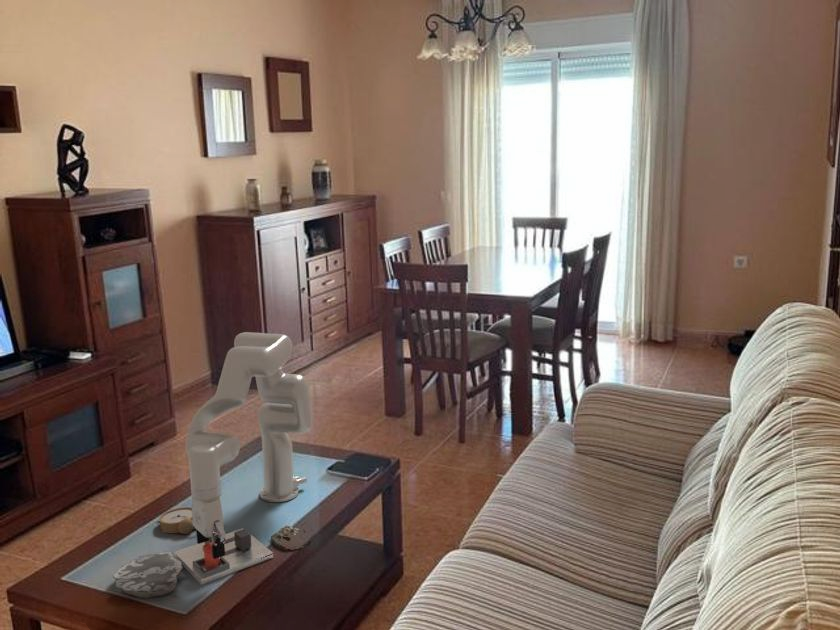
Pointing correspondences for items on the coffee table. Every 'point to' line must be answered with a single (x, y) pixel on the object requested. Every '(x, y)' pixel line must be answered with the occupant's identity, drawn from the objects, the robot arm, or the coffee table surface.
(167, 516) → the alarm clock
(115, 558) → the coffee table surface
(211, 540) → the block
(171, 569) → the brain slice
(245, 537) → the breaker
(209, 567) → the cap
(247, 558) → the panel
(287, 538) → the grey rough lump
